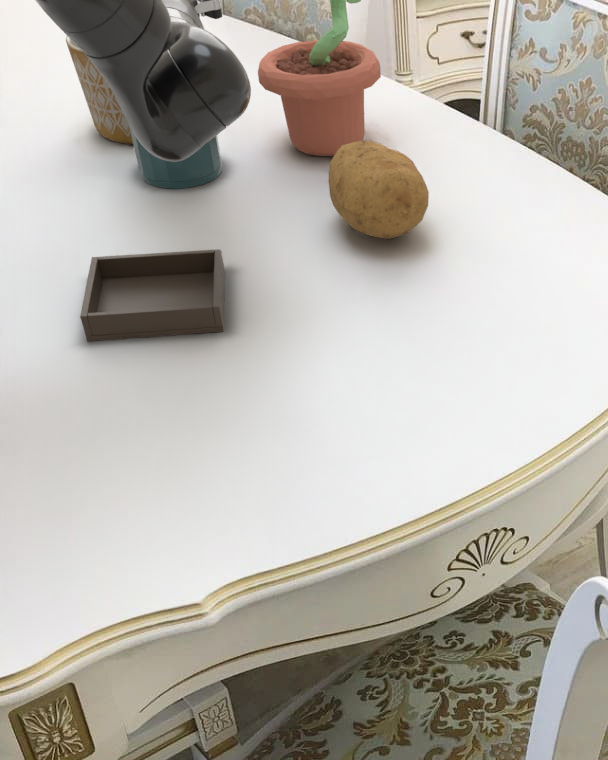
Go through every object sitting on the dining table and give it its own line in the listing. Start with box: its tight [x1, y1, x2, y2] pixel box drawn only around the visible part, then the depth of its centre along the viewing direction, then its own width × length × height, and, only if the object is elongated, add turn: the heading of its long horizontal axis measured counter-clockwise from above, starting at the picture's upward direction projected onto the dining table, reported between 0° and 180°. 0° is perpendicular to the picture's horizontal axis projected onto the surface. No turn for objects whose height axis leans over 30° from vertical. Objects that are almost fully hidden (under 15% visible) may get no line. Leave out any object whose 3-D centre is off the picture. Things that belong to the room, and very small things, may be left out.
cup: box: [129, 126, 223, 190], centre depth 124 cm, size 9×9×6 cm
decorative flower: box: [257, 0, 382, 157], centre depth 121 cm, size 15×14×30 cm
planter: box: [65, 35, 133, 145], centre depth 130 cm, size 13×13×10 cm
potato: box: [327, 140, 430, 240], centre depth 114 cm, size 10×14×8 cm
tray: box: [79, 248, 226, 342], centre depth 104 cm, size 12×11×2 cm
